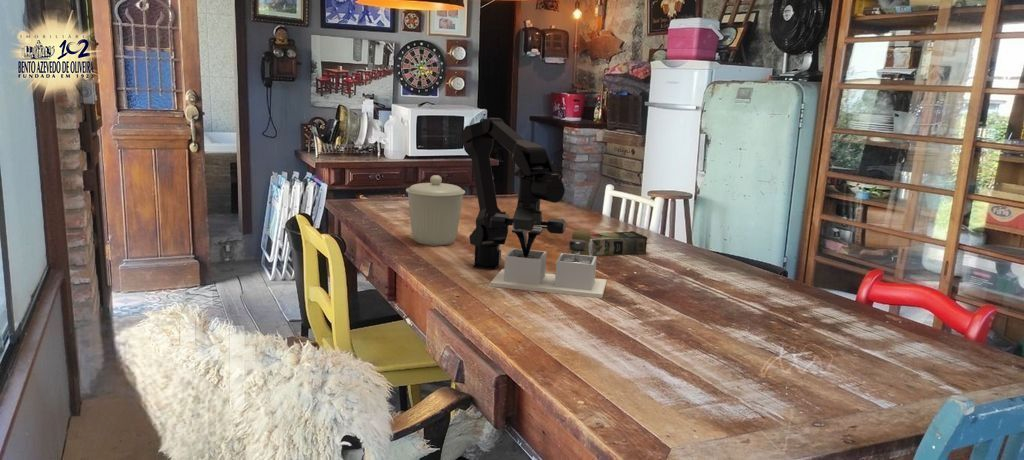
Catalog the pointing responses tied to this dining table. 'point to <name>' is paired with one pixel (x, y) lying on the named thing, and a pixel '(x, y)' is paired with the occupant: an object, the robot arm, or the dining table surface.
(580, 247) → the plunger
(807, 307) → the dining table surface
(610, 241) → the juice carton
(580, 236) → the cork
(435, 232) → the canister
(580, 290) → the board
